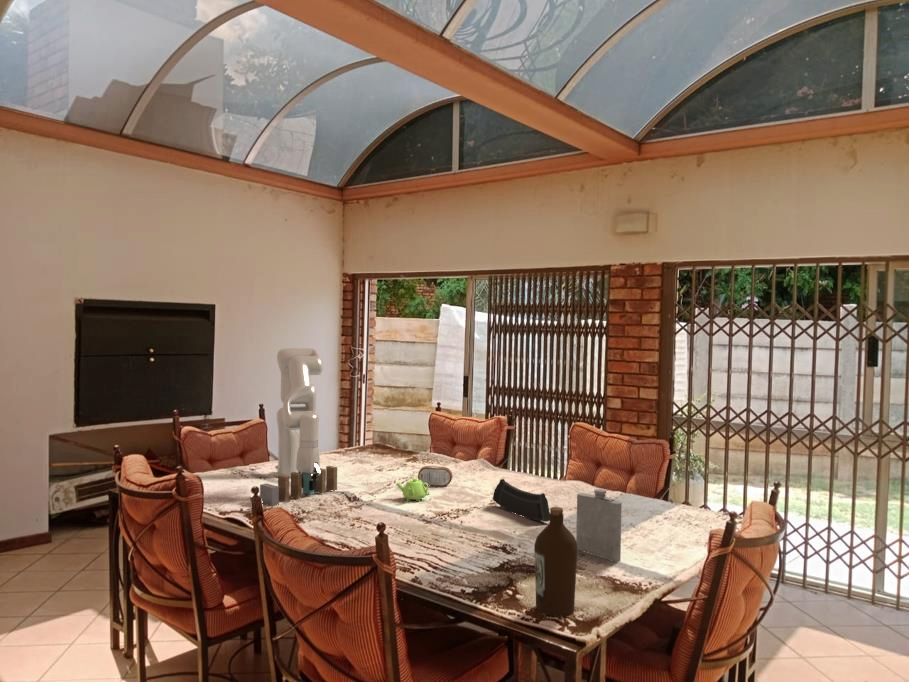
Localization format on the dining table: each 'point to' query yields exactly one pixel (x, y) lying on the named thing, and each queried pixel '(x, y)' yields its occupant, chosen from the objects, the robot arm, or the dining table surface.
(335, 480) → the domino
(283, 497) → the domino
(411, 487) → the teapot
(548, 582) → the olive oil
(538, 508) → the magazine
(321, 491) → the domino
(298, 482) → the domino
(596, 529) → the hip flask
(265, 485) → the block
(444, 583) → the dining table surface
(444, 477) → the tin
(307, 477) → the domino
